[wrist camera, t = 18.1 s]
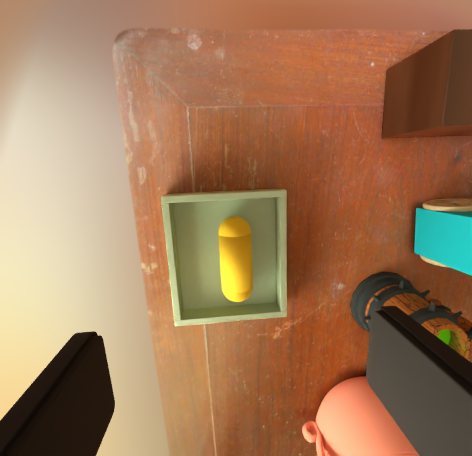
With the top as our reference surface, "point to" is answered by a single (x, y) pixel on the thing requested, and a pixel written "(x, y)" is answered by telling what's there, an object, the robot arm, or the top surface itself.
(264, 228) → the tray
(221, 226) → the yellow capsule toy
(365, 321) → the mug
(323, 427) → the teapot
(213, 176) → the top surface
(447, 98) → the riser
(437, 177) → the top surface
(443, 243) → the toy train
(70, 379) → the robot arm
